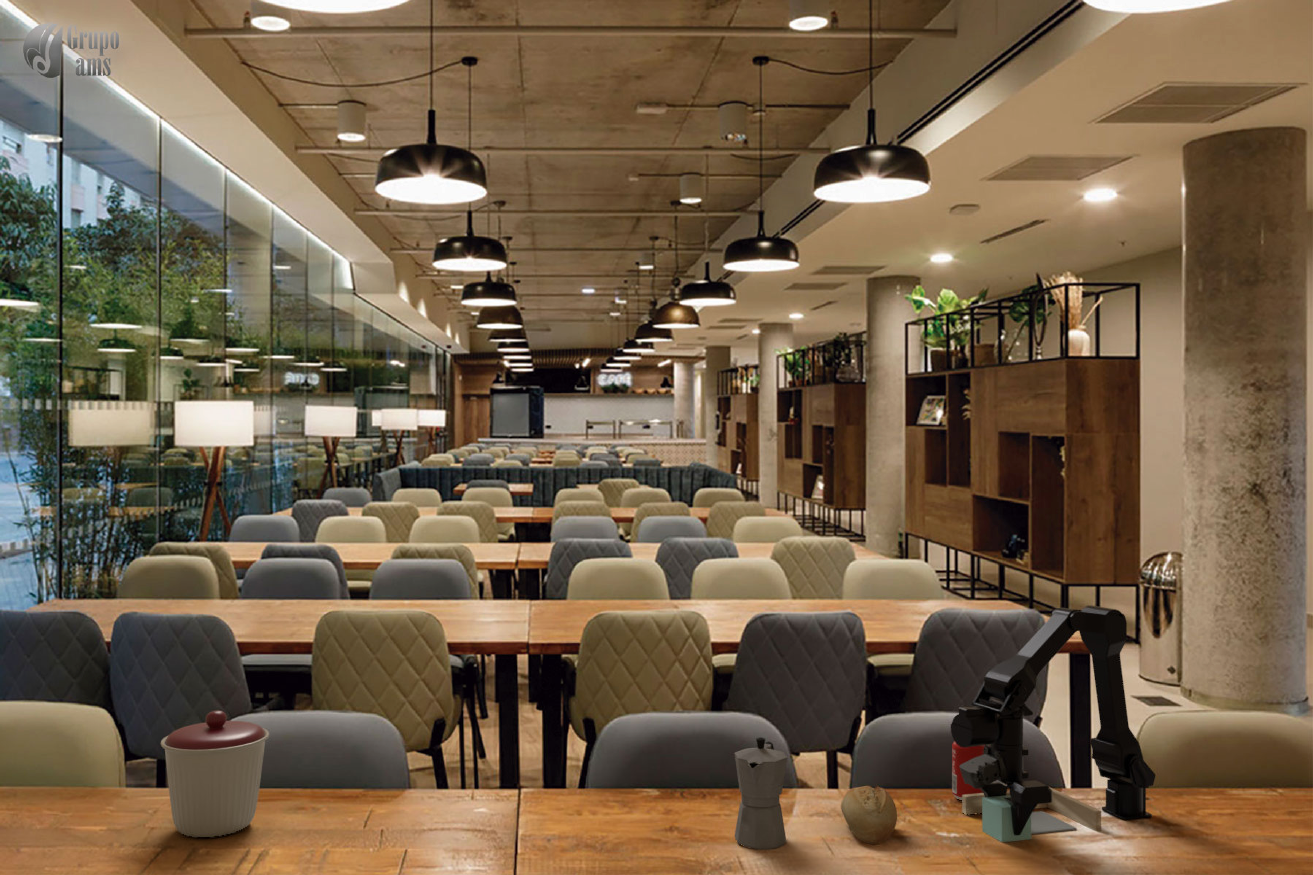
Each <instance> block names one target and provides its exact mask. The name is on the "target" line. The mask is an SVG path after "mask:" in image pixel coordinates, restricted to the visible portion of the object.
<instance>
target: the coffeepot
mask: <svg viewBox="0 0 1313 875" xmlns="http://www.w3.org/2000/svg"><path fill="white" fill-rule="evenodd" d="M755 740H756V746H757V747H749V748H748V747H747V748H744V749H741V750H739V751H735V752H734V759H735V765H736V774H737V781H738V789H739V792H740V794H741V802H740V803H739V807H738V813H737V820H736V826H735V830H734V838H736V839H735V841H736V840H737V842H736V843H737V844H738V845H739V844H742V845H744V846H745V847H744V846H743V847H744V848H747V847H750V848H749V849H752V848H754V849H753V850H773V849H774V850H775V849H777V848H781V847H782V846H784V845H785V844H786V843H787V836H786V830H785V823H784V817H783V811H782V806H781V803H780V796H781V795H782V794H783V787H784V780H785V773H786V769H787V760H788V756H787V755H786V754H785V752H784V751H782V750H781V751H780V750H776V749H774V748H775V747H774V744H773V742H771V741H766V738H765V737H757V738H755Z"/></svg>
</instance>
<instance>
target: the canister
mask: <svg viewBox="0 0 1313 875" xmlns="http://www.w3.org/2000/svg"><path fill="white" fill-rule="evenodd" d="M227 718H228V717H227V714H226V713H225V712H224V711H222V710H212V711H210V712H209V713H207V715H206V716H205V722H200V723H193V724H191V725H187V726H183V727H180V728H178V729H175V730H174V731H172V732H171V733H170V734H168V735H167V736H165V737H163V738H162V739H161V741H160V746H161V748H162V749H164V752H165V754H164V755H165V765H166V774H167V784H168V793H169V794H168V795H169V802H170V809H171V817H172V821H173V825H174V827H175V828H176V831H177V832H179V833H180V834H181V835H183V834H184V836H185V835H186V836H185V837H189V836H192V837H191V838H197V837H210V838H215V837H214V836H219V837H223V836H222V835H224V836H227V835H226V834H229V835H232V834H235V833H237V832H236V831H238V832H240V831H242V830H243V828H244V829H246V828H247V827H248V826H249V825H250V824H251V822H252V821H253V819H254V818H255V814H256V810H257V806H258V799H259V792H260V787H261V786H260V785H261V779H262V778H261V777H262V771H263V770H262V769H263V761H264V754H265V746H266V745H265V744H266V740H267V739H268V738H269V737H270V732H269V731H268V730H267V729H266V728H263V727H261V726H260V725H258V724H256V723H253V722H250V721H242V720H228V719H227ZM245 827H246V828H245ZM241 829H242V830H241ZM239 830H240V831H239ZM231 833H232V834H231Z"/></svg>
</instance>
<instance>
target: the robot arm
mask: <svg viewBox="0 0 1313 875" xmlns="http://www.w3.org/2000/svg"><path fill="white" fill-rule="evenodd" d="M1127 623H1128V622H1127V618H1126V616H1125V614H1124V613H1122V612H1121V611H1120V610H1118V609H1116V608H1115V609H1114V608H1109V607H1102V606H1097V605H1086V606H1085V607H1084V608H1082V609H1074V608H1067V607H1058V608H1055V609H1054V610H1053V611H1052V612H1051V616H1050V617H1049V619H1047V621H1046V622H1045V623H1044V624H1043V625H1042V626H1041V628H1040V629H1038V630H1037V632H1035V634H1034V635H1033V636H1032V637H1031V638H1030V640H1028V641H1027V643H1026V644H1025V645H1024V646H1023V647H1022V648H1021V649H1020V650H1019V652H1018V653H1017V654H1016V655H1014V656H1013V657H1011V658H1009V659H1005V660H1004V661H1001V662H999V663H998V664H996V665H995V666H994V667H992V669H990V670H989V671H988V672H986V675H985V676H984V678H983V683H982V685H981V686H980V688H979V689H978V692H977V694H976V695H975V697H974V698H973V700H972V702H971V706H969V707H967V706H961V707H960V706H959V708H958V714H956V715H955V716H954V717H953V718H952V721H951V723H950V732H951V737H952V739H953V740H954V741H955V742H956V743H957V745H959V746H960V747H964V748H965V747H973V746H981V745H985V747H984V752H983V755H981V756H978V757H975V758H973V759H971V760H968V761H967V762H965V763H963V764H961V765H960V766H959V767H960V770H961V773H962V776H963V779H964V783H965V784H969V785H971V786H972V787H973V788H975V789H979V788H980V789H981V790H982V791H983V793H984V796H985V797H995V796H1006V793H1007V791H1008V789H1009V791H1010V796H1011V797H1007V798H1004V799H1005V800H1006V801H1007V802H1008V803H1009V804H1010V806H1011V813H1012V825H1013V832H1014V835H1016V836H1017V835H1020V834H1021V833H1022V831H1023V829H1024V827H1025V825H1026V823H1027V821H1028V819H1029V817H1030V815H1031V814H1032V812H1035V807H1036V806H1037V804H1041V803H1051V802H1052V790H1051V789H1050V788H1051V787H1050V786H1048V785H1046V784H1045V783H1042V782H1041V781H1039V780H1035V779H1034V780H1026V779H1029V772H1028V771H1025V769H1024V757H1025V756H1029V749H1028V748H1026V747H1024V717H1028V716H1029V717H1031V716H1033V715H1034V711H1033V710H1031V709H1030V708H1029V707H1028V706H1027V705H1026V702H1027V701H1028V699H1029V698H1030V696H1031V695H1032V694H1033V693H1034V690H1035V689H1036V687H1037V678H1038V676H1039V674H1040V673H1041V671H1043V670H1044V668H1045V667H1046V666H1047V665H1048V664H1049V662H1051V661H1052V659H1053V658H1054V657H1055V656H1056V655H1057V653H1059V651H1060V650H1061V649H1062V648H1063V647H1064V646H1065V645H1066V643H1068V641H1069V640H1070V639H1071V638H1072V637H1073V635H1075V633H1077V632H1079V636H1080V640H1081V641H1082V642H1083V644H1084V645H1085V647H1086V648H1087V650H1088V652H1089V653H1090V655H1091V661H1092V668H1093V674H1094V675H1093V676H1094V685H1095V691H1096V692H1095V693H1096V700H1097V708H1098V716H1099V723H1100V728H1099V731H1098V732H1097V735H1096V736H1095V737H1092V738H1090V745H1091V746H1090V747H1091V759H1092V760H1094V764H1095V765H1096V767H1097V768H1098V769H1097V770H1098V772H1099V776H1100V777H1101V778H1102V777H1103V778H1106V779H1107V781H1106V782H1107V783H1106V784H1107V785H1106V787H1107V788H1105V806H1102V807H1101V811H1104V812H1107V813H1108V814H1110V815H1112V816H1114V817H1117V818H1119V819H1121V820H1136V819H1143V818H1144V819H1145V818H1152V817H1153V813H1150V812H1149V811H1147V795H1146V794H1147V789H1149V787H1153V786H1154V784H1155V783H1154V782H1155V779H1156V773H1155V772H1154V771H1153V770H1152V769H1151V767H1150V766H1149V765H1148V764H1147V763H1146V761H1145V760H1144V756H1143V751H1142V748H1141V745H1140V742H1139V741H1138V739H1137V738H1136V736H1135V735H1134V733H1133V731H1132V730H1131V728H1130V725H1129V718H1128V710H1127V701H1126V693H1125V685H1124V677H1123V669H1122V661H1121V652H1122V650H1123V649H1124V646H1125V644H1126V643H1127V639H1128V638H1127V636H1128V635H1127V634H1128V633H1127V632H1128V631H1127V630H1128V628H1127V626H1128V625H1127ZM954 741H953V742H954ZM1022 780H1025V781H1022ZM1049 787H1050V788H1049Z"/></svg>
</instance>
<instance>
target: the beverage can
mask: <svg viewBox="0 0 1313 875" xmlns="http://www.w3.org/2000/svg"><path fill="white" fill-rule="evenodd" d="M951 746H952V747H951V749H952V750H951V755H952V756H951V757H952V758H951V763H952V764H951V765H952V767H951V780H952V781H951V789H952V790H951V792H952V795H953V796H954V797H955V798H957V799H960V800H962V795H966V794H977V793H983V791H982V790H981V789H980V788H979V789H975V788H973V787H972V786H971V785H969V784H965V783H964V779H963V776H962V773H961V770H960V767H959V766H960V765H961V764H963V763H965V762H967V761H968V760H971V759H973V758H975V757H978V756H981V755H983V752H984V747H985V745H981V746H973V747H965V748H964V747H960V746H959V745H957V743H956V742H955V741H953V743H952V744H951ZM957 799H956V800H957Z"/></svg>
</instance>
